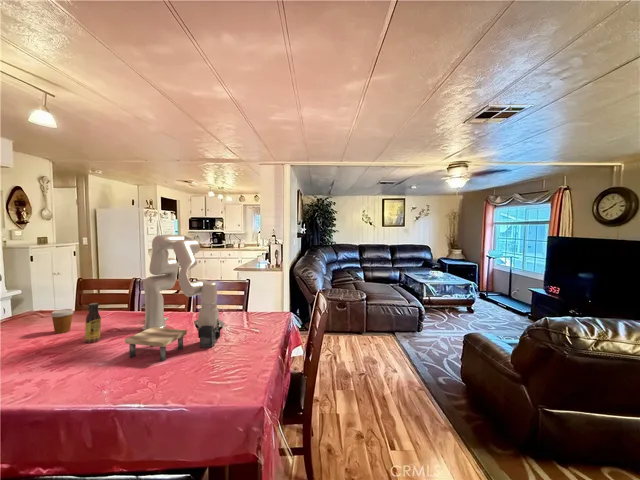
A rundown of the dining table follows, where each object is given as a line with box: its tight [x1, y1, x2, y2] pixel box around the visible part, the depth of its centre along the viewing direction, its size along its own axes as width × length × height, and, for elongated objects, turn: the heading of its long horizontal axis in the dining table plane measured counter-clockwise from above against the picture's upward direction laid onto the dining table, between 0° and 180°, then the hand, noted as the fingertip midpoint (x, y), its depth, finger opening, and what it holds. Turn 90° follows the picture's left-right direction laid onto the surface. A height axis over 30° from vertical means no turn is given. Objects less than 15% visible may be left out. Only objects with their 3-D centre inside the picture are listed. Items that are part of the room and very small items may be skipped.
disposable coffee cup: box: [50, 308, 75, 335], centre depth 155 cm, size 10×10×12 cm
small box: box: [199, 326, 219, 349], centre depth 143 cm, size 11×6×10 cm, turn 5°
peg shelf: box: [124, 327, 188, 362], centre depth 131 cm, size 16×20×9 cm
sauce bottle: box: [84, 302, 102, 344], centre depth 143 cm, size 7×6×20 cm
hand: (209, 337), depth 143 cm, fingers open, 9 cm apart
